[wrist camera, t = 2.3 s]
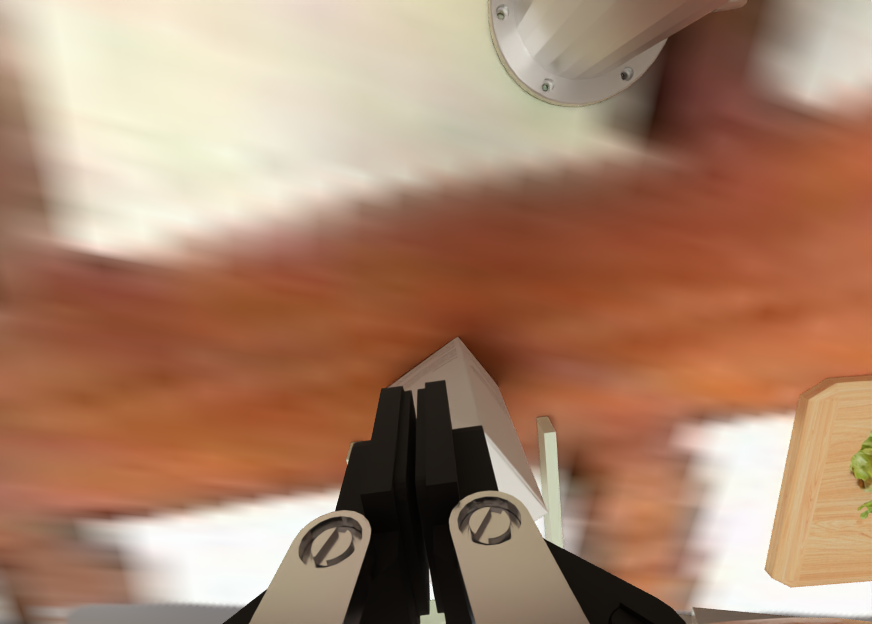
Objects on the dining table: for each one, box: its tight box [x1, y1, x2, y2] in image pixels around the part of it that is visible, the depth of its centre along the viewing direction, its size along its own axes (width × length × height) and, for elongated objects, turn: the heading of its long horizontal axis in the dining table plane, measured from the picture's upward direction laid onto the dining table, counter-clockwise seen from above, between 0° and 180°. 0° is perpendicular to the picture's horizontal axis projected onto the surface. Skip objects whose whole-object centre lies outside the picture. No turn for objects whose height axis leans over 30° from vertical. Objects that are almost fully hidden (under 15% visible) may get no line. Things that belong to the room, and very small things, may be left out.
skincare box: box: [388, 337, 548, 584], centre depth 30 cm, size 8×7×16 cm
